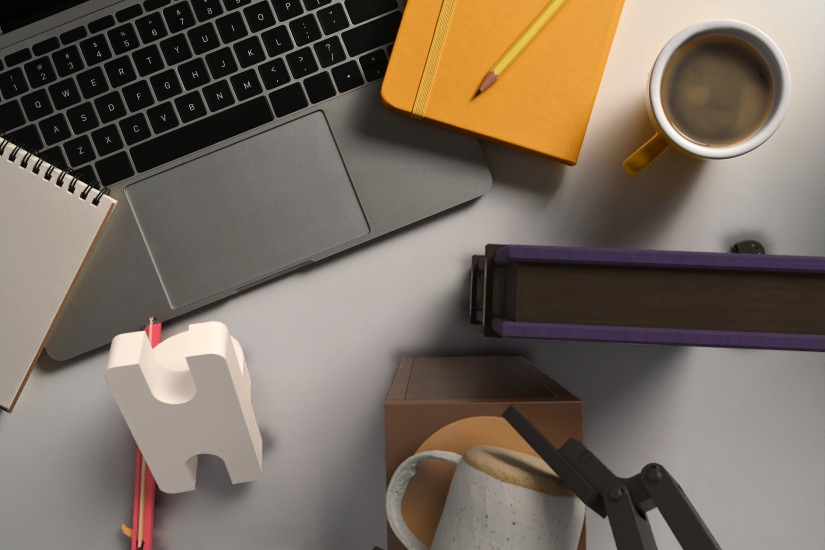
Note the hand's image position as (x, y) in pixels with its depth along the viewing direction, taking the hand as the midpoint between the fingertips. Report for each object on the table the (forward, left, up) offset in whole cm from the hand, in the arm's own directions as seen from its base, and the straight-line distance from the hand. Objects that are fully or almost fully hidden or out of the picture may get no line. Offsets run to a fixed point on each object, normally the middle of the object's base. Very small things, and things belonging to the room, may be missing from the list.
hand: (450, 487), depth 37 cm
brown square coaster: (-2, -2, -6) cm, 7 cm away
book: (+10, -15, -32) cm, 37 cm away
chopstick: (-4, +26, -32) cm, 41 cm away
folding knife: (+10, -32, -31) cm, 46 cm away
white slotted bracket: (-1, +22, -23) cm, 32 cm away
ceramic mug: (-3, -2, -4) cm, 5 cm away
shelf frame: (-2, -2, -32) cm, 32 cm away
